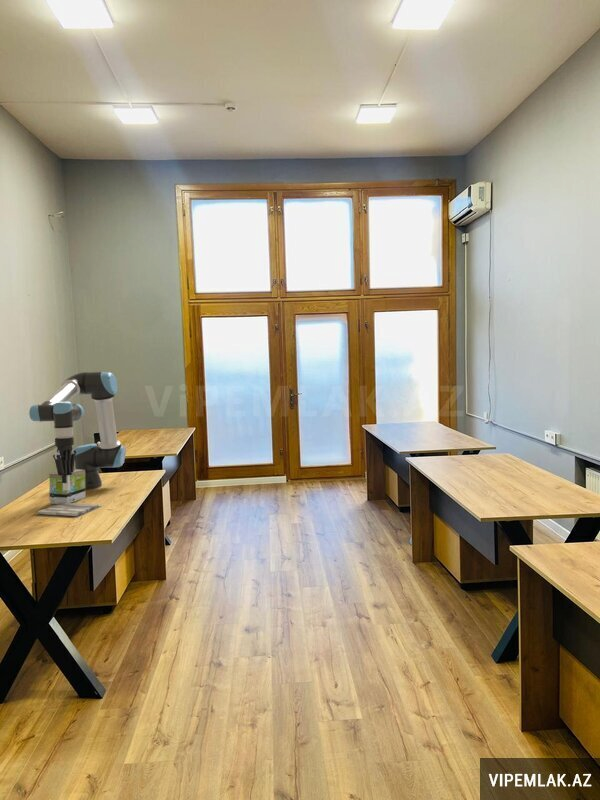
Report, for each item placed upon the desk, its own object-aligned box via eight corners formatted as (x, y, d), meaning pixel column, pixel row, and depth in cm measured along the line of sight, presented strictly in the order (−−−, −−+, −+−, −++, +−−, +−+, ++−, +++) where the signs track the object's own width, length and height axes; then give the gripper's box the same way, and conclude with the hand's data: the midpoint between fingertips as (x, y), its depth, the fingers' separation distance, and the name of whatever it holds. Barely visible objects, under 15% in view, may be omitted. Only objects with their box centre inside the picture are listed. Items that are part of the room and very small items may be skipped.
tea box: (67, 505, 253) (66, 474, 253) (49, 504, 255) (48, 473, 255) (86, 497, 268) (85, 468, 267) (68, 497, 270) (67, 468, 269)
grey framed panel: (62, 504, 256) (62, 503, 256) (102, 506, 251) (102, 506, 251) (34, 515, 237) (34, 515, 237) (77, 518, 232) (77, 517, 232)
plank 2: (68, 511, 243) (68, 508, 243) (86, 512, 241) (86, 509, 241) (56, 514, 235) (56, 512, 235) (75, 516, 233) (75, 513, 233)
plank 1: (49, 510, 245) (49, 507, 245) (67, 511, 243) (67, 508, 243) (37, 513, 237) (37, 511, 237) (55, 514, 235) (55, 512, 235)
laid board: (61, 505, 253) (60, 502, 253) (98, 507, 249) (98, 504, 249) (49, 509, 246) (49, 507, 246) (88, 511, 241) (87, 509, 241)
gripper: (66, 434, 240) (68, 486, 241) (46, 438, 227) (49, 493, 229) (81, 435, 238) (83, 486, 240) (61, 439, 225) (64, 493, 227)
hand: (66, 489), depth 234 cm, fingers closed
